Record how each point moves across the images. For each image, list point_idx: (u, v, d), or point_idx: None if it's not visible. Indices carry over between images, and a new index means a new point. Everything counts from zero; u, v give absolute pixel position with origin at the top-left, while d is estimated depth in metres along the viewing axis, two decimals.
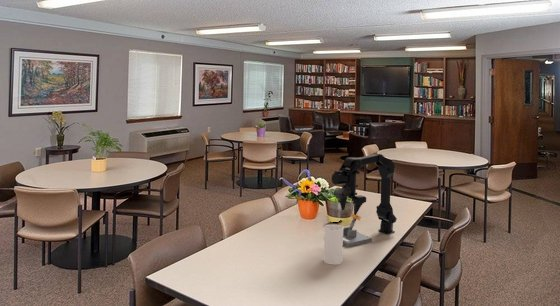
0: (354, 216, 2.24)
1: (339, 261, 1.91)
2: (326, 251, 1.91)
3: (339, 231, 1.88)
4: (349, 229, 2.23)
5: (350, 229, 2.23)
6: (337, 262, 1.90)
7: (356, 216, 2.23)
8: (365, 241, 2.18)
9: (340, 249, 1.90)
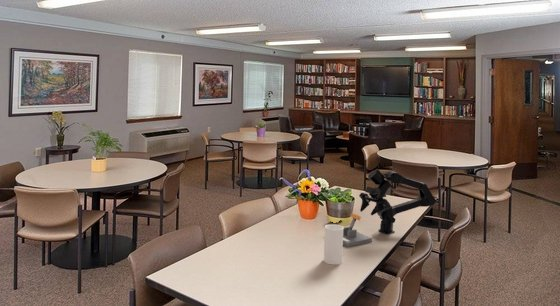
0: (354, 216, 2.24)
1: (339, 261, 1.91)
2: (326, 251, 1.91)
3: (339, 231, 1.88)
4: (349, 229, 2.23)
5: (350, 229, 2.23)
6: (337, 262, 1.90)
7: (356, 216, 2.23)
8: (365, 241, 2.18)
9: (340, 249, 1.90)
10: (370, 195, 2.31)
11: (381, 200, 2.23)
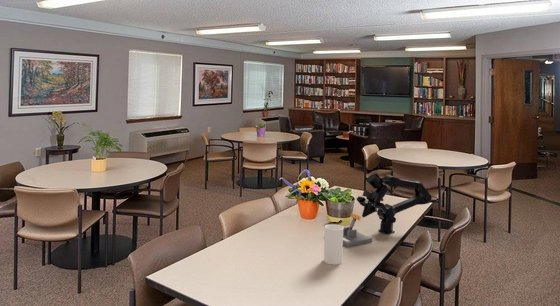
0: (354, 216, 2.24)
1: (339, 261, 1.91)
2: (326, 251, 1.91)
3: (339, 231, 1.88)
4: (349, 229, 2.23)
5: (350, 229, 2.23)
6: (337, 262, 1.90)
7: (356, 216, 2.23)
8: (365, 241, 2.18)
9: (340, 249, 1.90)
10: (367, 199, 2.31)
11: (378, 204, 2.22)
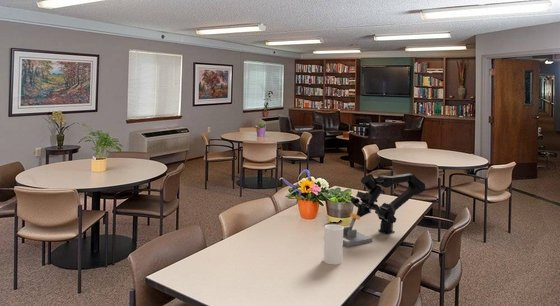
0: (353, 216, 2.24)
1: (339, 261, 1.91)
2: (326, 251, 1.91)
3: (339, 231, 1.88)
4: (349, 229, 2.23)
5: (350, 229, 2.23)
6: (337, 262, 1.90)
7: (355, 216, 2.23)
8: (365, 241, 2.18)
9: (340, 249, 1.90)
10: (361, 200, 2.28)
11: (372, 205, 2.20)
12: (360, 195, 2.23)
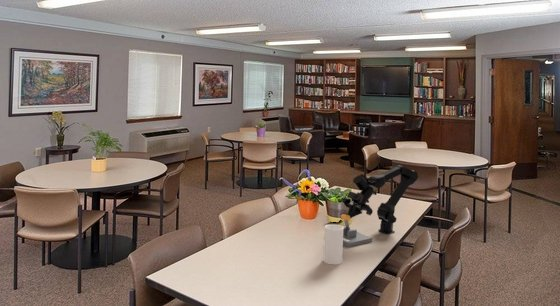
0: (344, 218, 2.20)
1: (339, 261, 1.91)
2: (326, 251, 1.91)
3: (339, 231, 1.88)
4: (347, 230, 2.22)
5: (348, 230, 2.22)
6: (337, 262, 1.90)
7: (345, 218, 2.19)
8: (365, 241, 2.18)
9: (340, 249, 1.90)
10: (352, 200, 2.25)
11: (363, 206, 2.17)
12: (351, 195, 2.20)
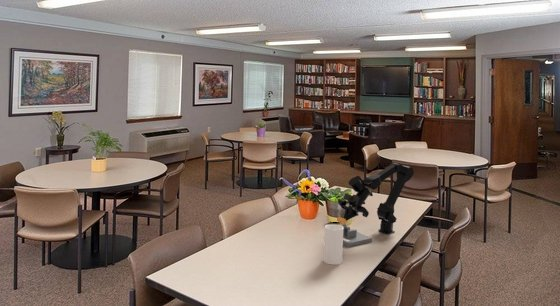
0: (340, 221, 2.19)
1: (339, 261, 1.91)
2: (326, 251, 1.91)
3: (339, 231, 1.88)
4: (346, 231, 2.22)
5: (347, 231, 2.22)
6: (337, 262, 1.90)
7: (341, 222, 2.18)
8: (365, 241, 2.18)
9: (340, 249, 1.90)
10: (348, 202, 2.24)
11: (359, 208, 2.15)
12: (347, 197, 2.18)
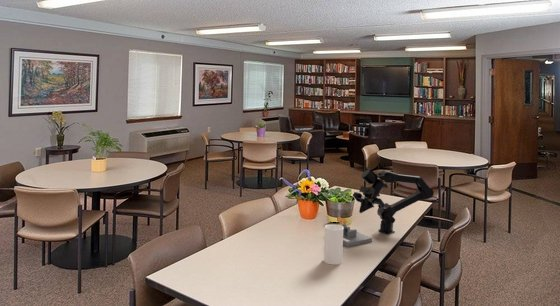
0: (340, 221, 2.19)
1: (339, 261, 1.91)
2: (326, 251, 1.91)
3: (339, 231, 1.88)
4: (346, 231, 2.22)
5: (347, 231, 2.22)
6: (337, 262, 1.90)
7: (341, 222, 2.18)
8: (365, 241, 2.18)
9: (340, 249, 1.90)
10: (364, 194, 2.30)
11: (375, 199, 2.22)
12: (363, 190, 2.25)
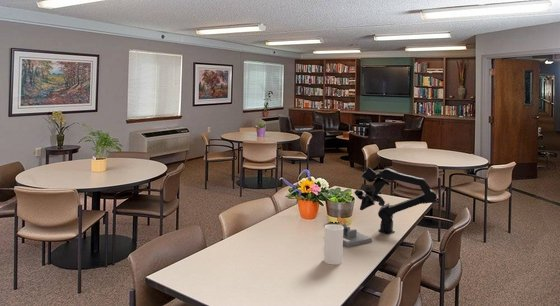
0: (340, 221, 2.19)
1: (339, 261, 1.91)
2: (326, 251, 1.91)
3: (339, 231, 1.88)
4: (346, 231, 2.22)
5: (347, 231, 2.22)
6: (337, 262, 1.90)
7: (341, 222, 2.18)
8: (365, 241, 2.18)
9: (340, 249, 1.90)
10: (365, 192, 2.33)
11: (376, 197, 2.25)
12: (364, 187, 2.28)
